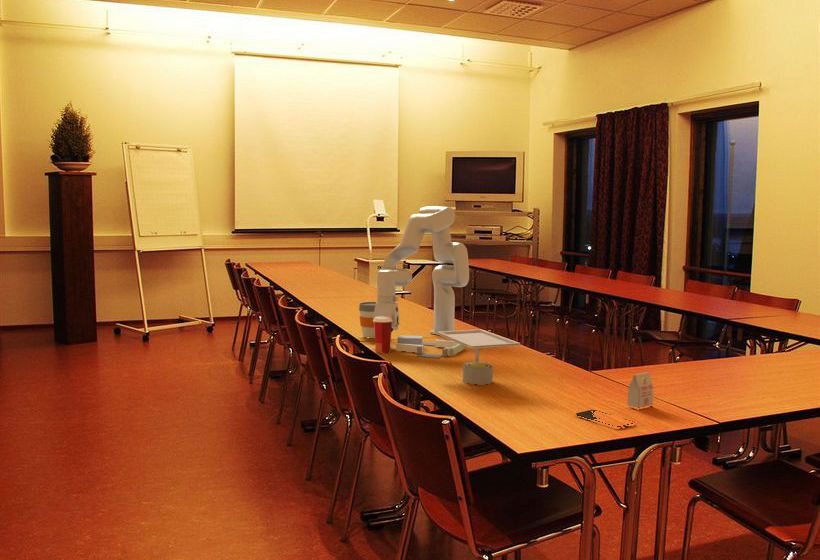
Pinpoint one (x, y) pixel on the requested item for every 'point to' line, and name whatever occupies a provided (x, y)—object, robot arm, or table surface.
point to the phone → (589, 416)
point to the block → (410, 340)
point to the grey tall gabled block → (640, 391)
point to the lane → (449, 349)
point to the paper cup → (382, 333)
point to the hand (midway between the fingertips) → (386, 343)
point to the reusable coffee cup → (367, 318)
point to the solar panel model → (477, 352)
